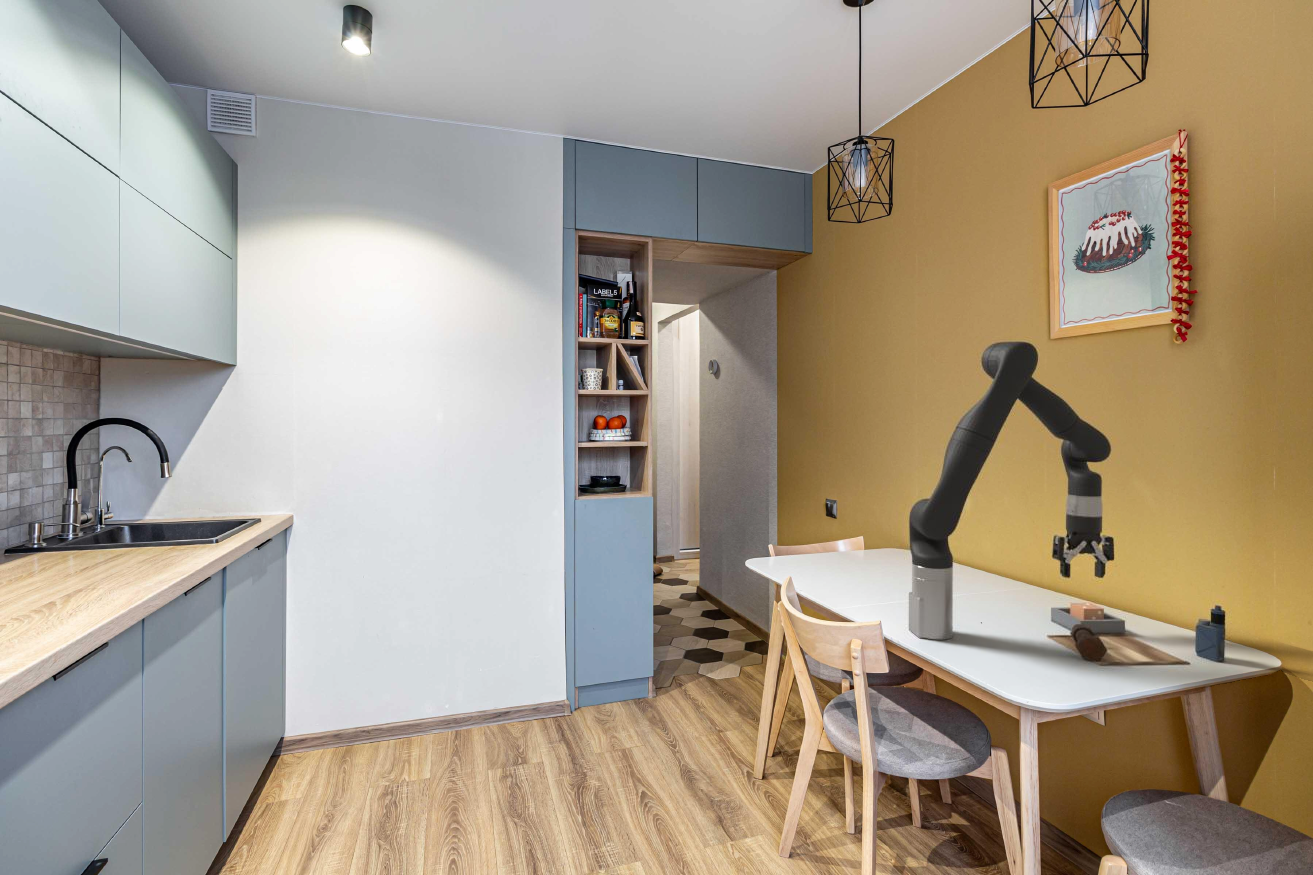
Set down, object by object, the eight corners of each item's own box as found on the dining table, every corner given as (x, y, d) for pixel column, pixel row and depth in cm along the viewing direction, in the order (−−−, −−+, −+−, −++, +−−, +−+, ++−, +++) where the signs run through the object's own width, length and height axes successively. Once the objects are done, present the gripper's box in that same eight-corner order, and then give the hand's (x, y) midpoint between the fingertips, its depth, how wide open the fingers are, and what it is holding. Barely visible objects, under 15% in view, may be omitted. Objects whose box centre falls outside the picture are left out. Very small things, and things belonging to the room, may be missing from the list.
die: (1083, 628, 154) (1084, 608, 154) (1070, 622, 159) (1070, 602, 159) (1103, 628, 154) (1104, 608, 154) (1089, 621, 159) (1089, 602, 159)
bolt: (1083, 646, 148) (1095, 666, 134) (1061, 633, 150) (1071, 651, 136) (1098, 626, 147) (1111, 645, 133) (1076, 613, 149) (1087, 630, 135)
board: (1100, 665, 133) (1100, 663, 133) (1047, 636, 150) (1047, 635, 150) (1189, 663, 133) (1189, 662, 133) (1126, 635, 151) (1126, 634, 151)
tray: (1080, 635, 151) (1080, 621, 151) (1051, 620, 162) (1051, 607, 162) (1124, 634, 151) (1124, 620, 151) (1092, 620, 162) (1092, 607, 162)
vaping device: (1219, 663, 133) (1220, 608, 133) (1192, 654, 138) (1193, 601, 138) (1227, 661, 134) (1229, 607, 134) (1200, 653, 139) (1201, 600, 139)
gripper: (1066, 515, 151) (1065, 581, 152) (1123, 515, 152) (1121, 580, 152) (1046, 510, 159) (1045, 573, 159) (1100, 510, 159) (1099, 573, 160)
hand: (1082, 577), depth 156 cm, fingers open, 8 cm apart
